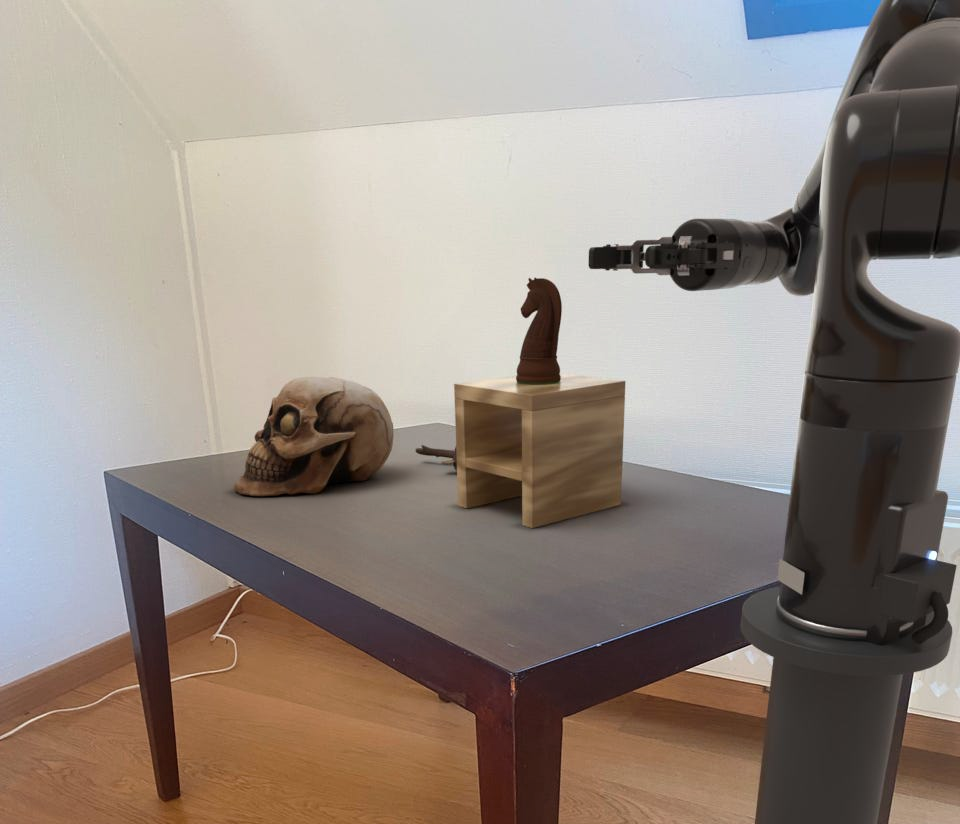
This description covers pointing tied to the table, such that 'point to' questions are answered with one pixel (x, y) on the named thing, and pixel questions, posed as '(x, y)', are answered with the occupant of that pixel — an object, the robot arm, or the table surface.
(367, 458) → the tan skull
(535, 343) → the chess piece
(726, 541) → the table surface
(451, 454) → the tree branch
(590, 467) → the stand
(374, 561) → the table surface
